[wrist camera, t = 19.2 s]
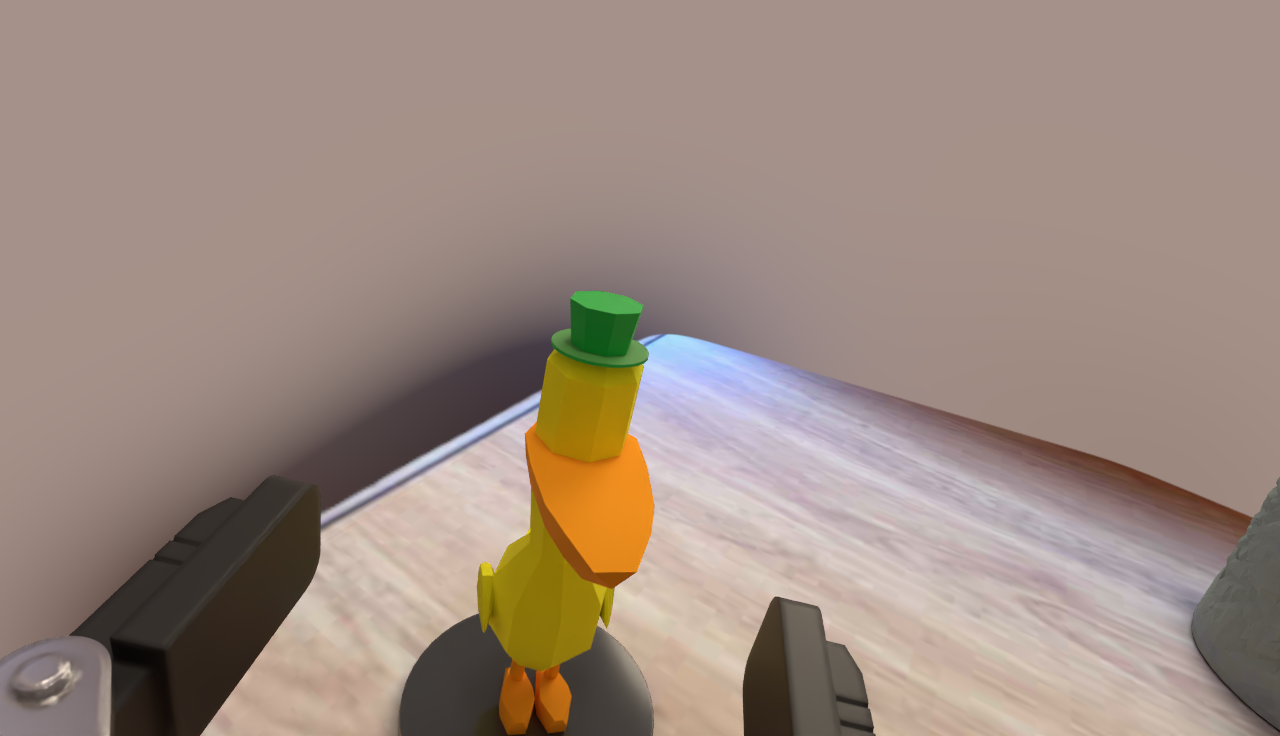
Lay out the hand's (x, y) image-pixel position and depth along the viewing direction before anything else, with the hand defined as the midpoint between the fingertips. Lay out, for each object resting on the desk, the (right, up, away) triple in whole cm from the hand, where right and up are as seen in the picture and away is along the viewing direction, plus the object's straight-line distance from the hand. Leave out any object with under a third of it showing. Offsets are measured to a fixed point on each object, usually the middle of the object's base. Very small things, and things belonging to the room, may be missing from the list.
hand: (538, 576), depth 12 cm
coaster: (-1, -6, +8) cm, 10 cm away
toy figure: (-1, -6, +7) cm, 9 cm away
